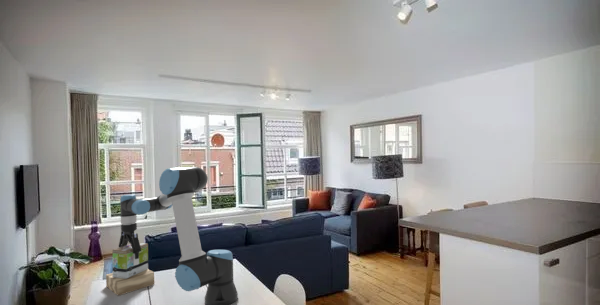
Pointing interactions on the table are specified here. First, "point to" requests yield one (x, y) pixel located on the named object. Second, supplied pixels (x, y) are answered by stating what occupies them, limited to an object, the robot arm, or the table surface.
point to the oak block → (130, 282)
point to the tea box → (129, 261)
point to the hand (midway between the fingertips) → (130, 262)
